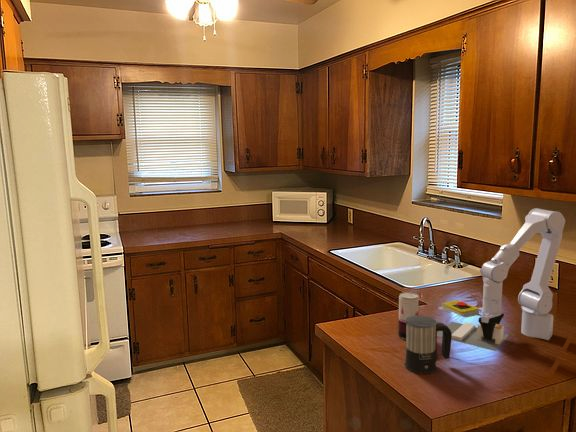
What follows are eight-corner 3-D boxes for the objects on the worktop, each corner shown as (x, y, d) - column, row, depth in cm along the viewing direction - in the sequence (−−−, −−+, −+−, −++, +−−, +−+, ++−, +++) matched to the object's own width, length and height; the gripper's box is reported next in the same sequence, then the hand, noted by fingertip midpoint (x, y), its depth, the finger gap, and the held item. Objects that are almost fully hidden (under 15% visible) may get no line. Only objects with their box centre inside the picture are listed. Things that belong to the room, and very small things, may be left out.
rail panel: (509, 337, 161) (509, 331, 161) (495, 353, 149) (495, 347, 149) (451, 324, 174) (451, 318, 174) (434, 338, 162) (434, 332, 161)
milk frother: (417, 377, 136) (418, 328, 133) (385, 355, 150) (386, 310, 148) (455, 367, 141) (457, 320, 139) (421, 346, 156) (422, 304, 153)
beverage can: (421, 338, 162) (422, 296, 160) (405, 341, 160) (406, 299, 157) (410, 331, 168) (411, 291, 166) (394, 334, 166) (395, 293, 163)
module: (503, 339, 157) (503, 325, 156) (499, 344, 154) (500, 329, 153) (481, 334, 162) (482, 320, 161) (477, 339, 158) (478, 324, 157)
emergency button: (464, 310, 177) (437, 298, 190) (464, 321, 178) (437, 309, 191) (483, 306, 181) (455, 295, 194) (482, 317, 181) (454, 305, 195)
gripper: (486, 290, 163) (484, 327, 166) (472, 301, 152) (470, 340, 154) (508, 293, 159) (506, 331, 161) (495, 305, 148) (493, 346, 150)
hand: (490, 336), depth 157 cm, fingers open, 5 cm apart
